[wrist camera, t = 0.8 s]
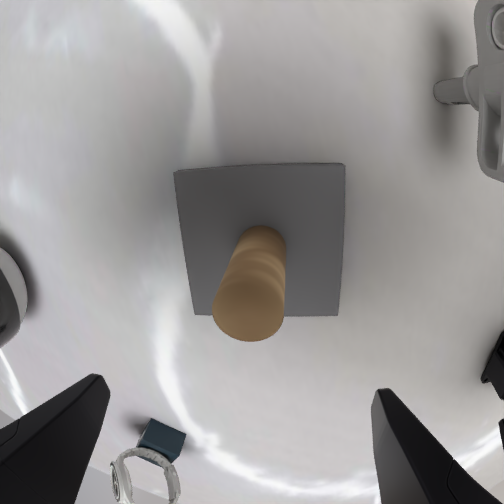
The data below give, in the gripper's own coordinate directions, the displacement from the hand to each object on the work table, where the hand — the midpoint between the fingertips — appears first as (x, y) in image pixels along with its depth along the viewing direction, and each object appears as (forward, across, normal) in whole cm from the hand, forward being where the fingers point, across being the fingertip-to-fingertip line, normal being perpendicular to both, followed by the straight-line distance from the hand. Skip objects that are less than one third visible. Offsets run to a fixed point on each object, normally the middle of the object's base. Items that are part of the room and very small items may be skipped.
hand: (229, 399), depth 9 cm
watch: (+13, +13, +24) cm, 30 cm away
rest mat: (+12, 0, 0) cm, 13 cm away
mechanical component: (+13, -12, -10) cm, 20 cm away
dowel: (+12, 0, 0) cm, 12 cm away
